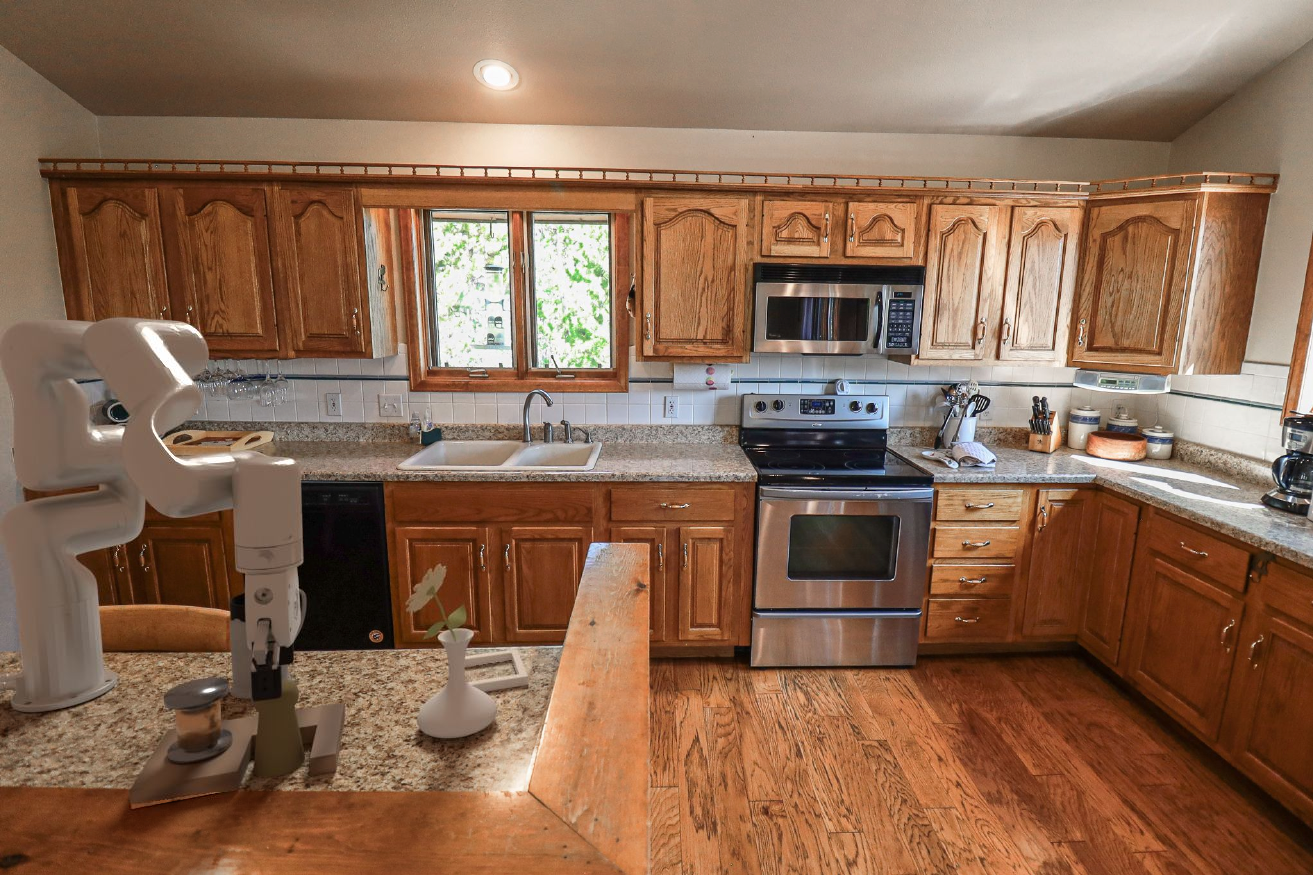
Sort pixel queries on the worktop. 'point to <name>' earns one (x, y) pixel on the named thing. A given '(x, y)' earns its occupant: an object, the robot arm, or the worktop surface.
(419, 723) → the flower in vase
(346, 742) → the worktop surface
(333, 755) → the notched board
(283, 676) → the glass holder
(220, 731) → the bobbin
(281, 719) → the cork
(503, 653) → the rectangular frame
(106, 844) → the worktop surface
